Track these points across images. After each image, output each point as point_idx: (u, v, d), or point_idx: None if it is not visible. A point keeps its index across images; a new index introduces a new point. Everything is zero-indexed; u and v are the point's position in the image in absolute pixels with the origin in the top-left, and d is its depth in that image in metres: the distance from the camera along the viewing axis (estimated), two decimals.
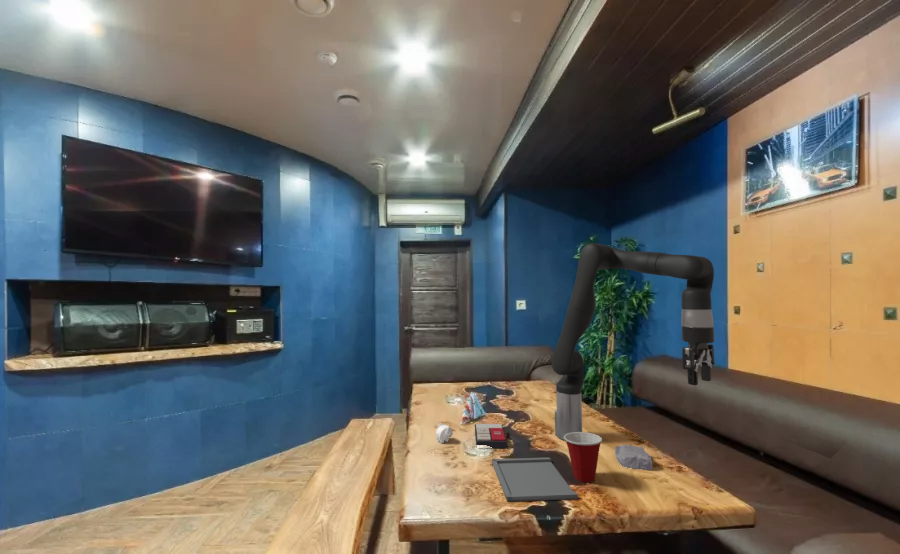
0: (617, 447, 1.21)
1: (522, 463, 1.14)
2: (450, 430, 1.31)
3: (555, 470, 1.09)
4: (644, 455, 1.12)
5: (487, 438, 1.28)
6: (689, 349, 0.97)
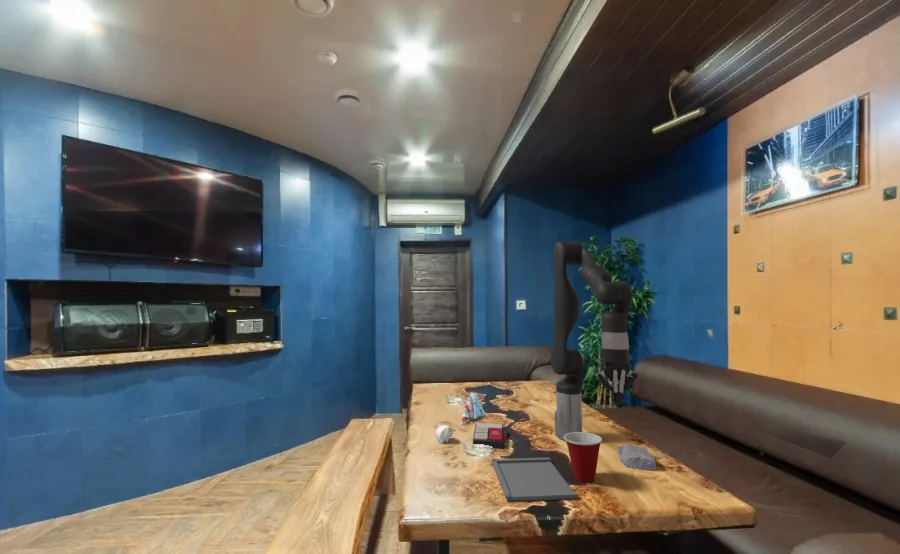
0: (620, 447, 1.21)
1: (522, 463, 1.14)
2: (450, 430, 1.31)
3: (555, 470, 1.09)
4: (647, 455, 1.11)
5: (484, 437, 1.28)
6: (597, 376, 1.07)
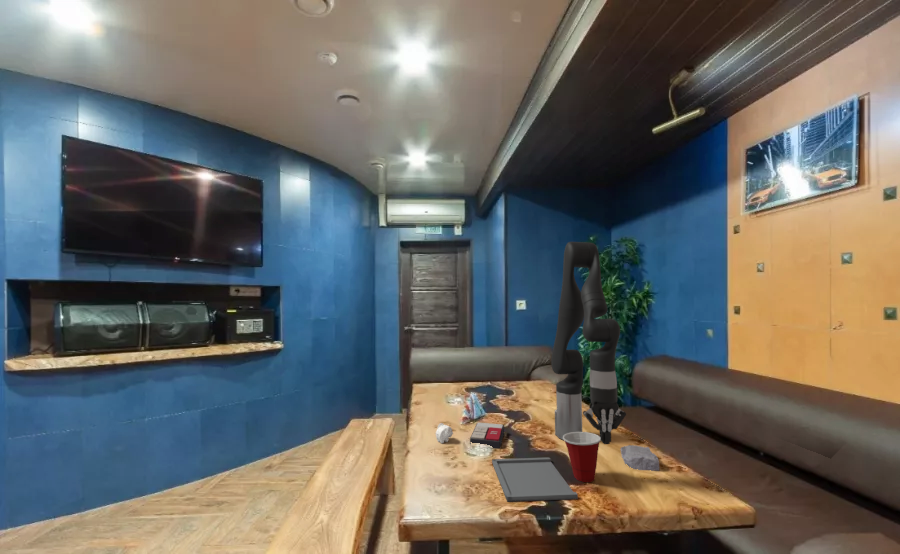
0: (623, 448, 1.20)
1: (522, 463, 1.14)
2: (450, 430, 1.31)
3: (555, 470, 1.09)
4: (651, 456, 1.11)
5: (481, 437, 1.29)
6: (585, 415, 1.06)
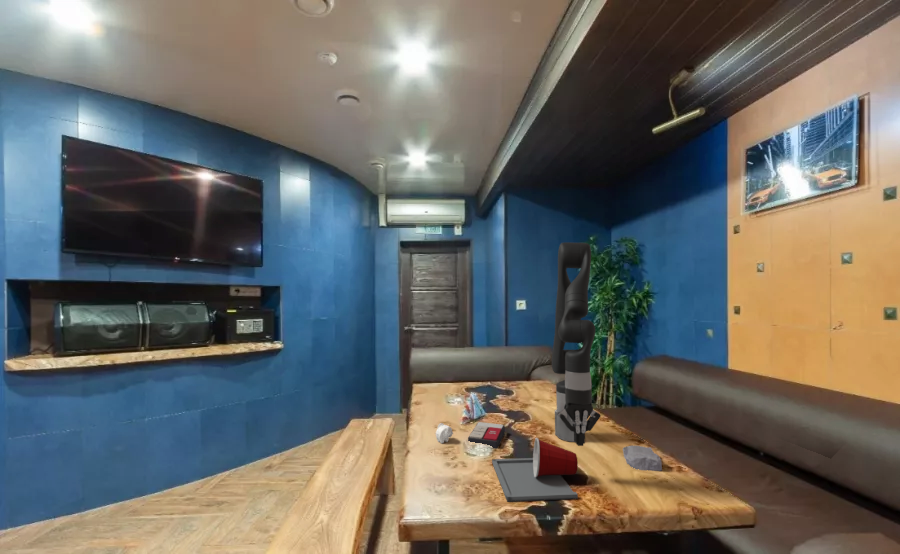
0: (625, 448, 1.20)
1: (522, 463, 1.14)
2: (450, 430, 1.31)
3: None
4: (653, 456, 1.11)
5: (479, 436, 1.29)
6: (559, 416, 1.06)
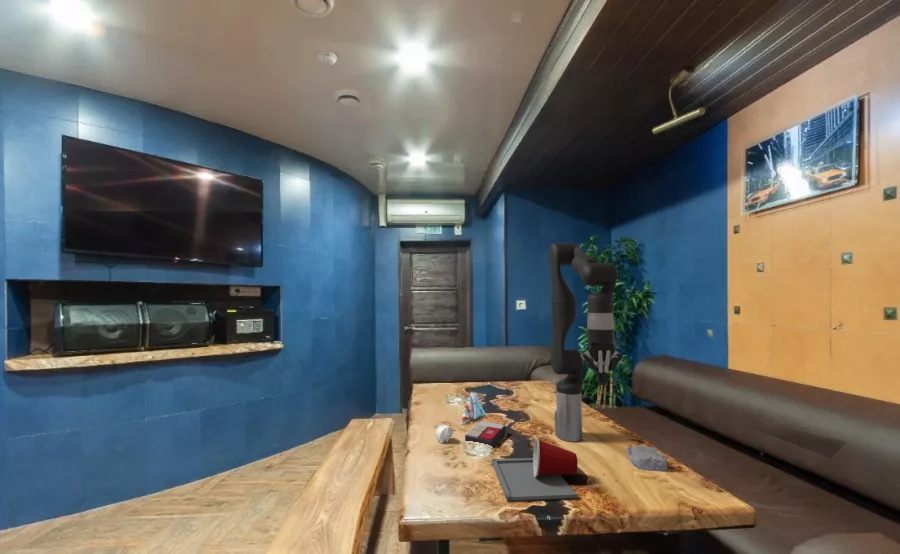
0: (629, 448, 1.20)
1: (522, 463, 1.14)
2: (450, 430, 1.31)
3: None
4: (658, 456, 1.11)
5: (475, 435, 1.31)
6: (582, 356, 1.08)
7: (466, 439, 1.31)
